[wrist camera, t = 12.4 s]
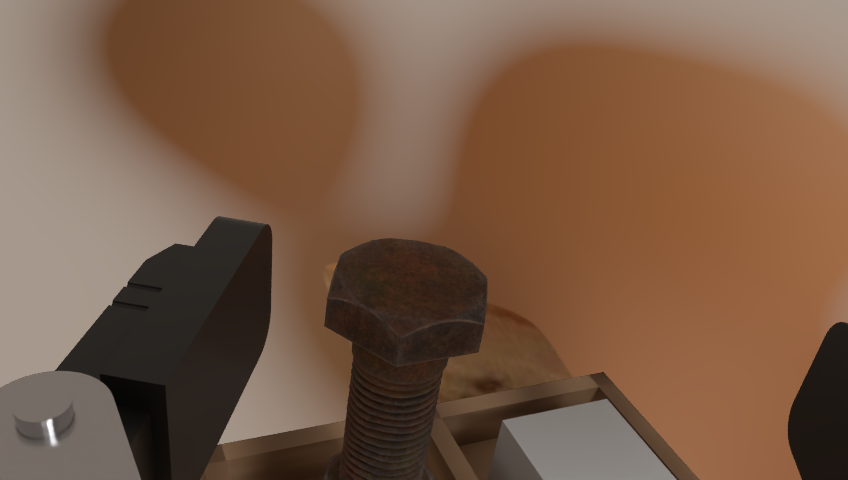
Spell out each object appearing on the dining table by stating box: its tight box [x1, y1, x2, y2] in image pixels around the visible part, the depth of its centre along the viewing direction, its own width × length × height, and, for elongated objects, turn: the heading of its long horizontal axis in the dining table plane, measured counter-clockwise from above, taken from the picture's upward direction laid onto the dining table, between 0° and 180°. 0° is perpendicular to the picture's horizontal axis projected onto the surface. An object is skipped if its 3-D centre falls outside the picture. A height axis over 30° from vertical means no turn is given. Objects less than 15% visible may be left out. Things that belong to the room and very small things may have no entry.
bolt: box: [323, 238, 487, 480], centre depth 29 cm, size 6×5×15 cm
